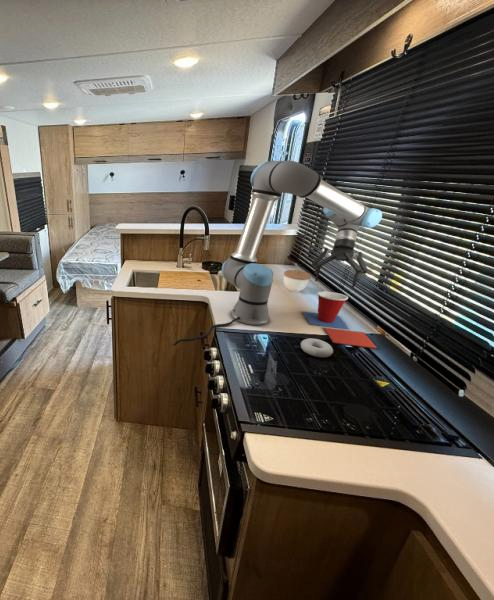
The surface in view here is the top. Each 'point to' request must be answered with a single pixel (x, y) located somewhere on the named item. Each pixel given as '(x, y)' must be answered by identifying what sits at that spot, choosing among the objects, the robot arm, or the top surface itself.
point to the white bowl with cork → (296, 280)
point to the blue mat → (314, 320)
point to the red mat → (349, 338)
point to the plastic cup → (329, 305)
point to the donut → (316, 348)
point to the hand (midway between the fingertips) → (334, 282)
